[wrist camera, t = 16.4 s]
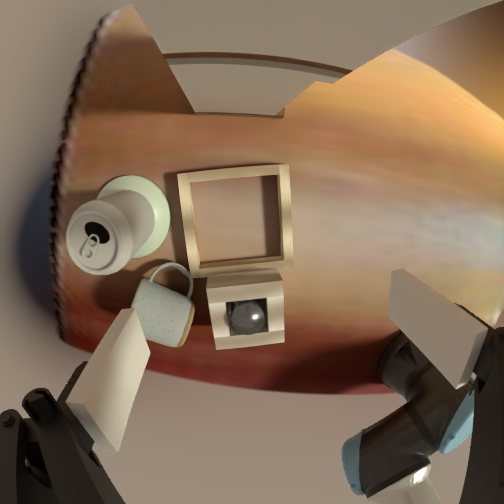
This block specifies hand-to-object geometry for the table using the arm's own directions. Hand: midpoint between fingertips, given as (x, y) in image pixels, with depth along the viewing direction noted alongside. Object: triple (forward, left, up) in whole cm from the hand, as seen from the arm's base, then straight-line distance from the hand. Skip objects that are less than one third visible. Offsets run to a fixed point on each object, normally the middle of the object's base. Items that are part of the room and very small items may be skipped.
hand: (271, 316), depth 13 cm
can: (+2, +14, -24) cm, 28 cm away
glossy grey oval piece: (-11, 0, -22) cm, 25 cm away
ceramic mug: (-10, +12, -25) cm, 29 cm away
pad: (+2, +14, -24) cm, 28 cm away
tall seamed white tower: (+19, -2, -25) cm, 31 cm away
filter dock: (-5, 0, -24) cm, 25 cm away
